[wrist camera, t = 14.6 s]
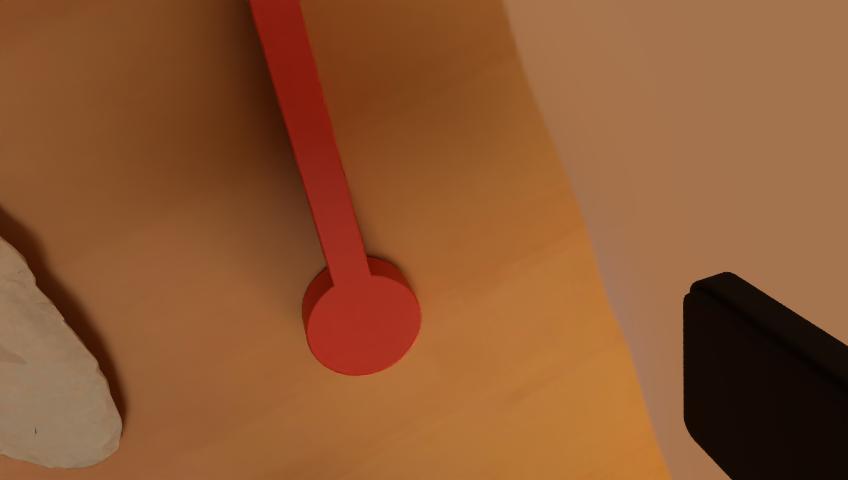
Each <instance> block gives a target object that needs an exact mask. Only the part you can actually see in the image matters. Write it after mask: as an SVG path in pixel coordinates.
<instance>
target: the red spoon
mask: <svg viewBox="0 0 848 480" xmlns="http://www.w3.org/2000/svg"><path fill="white" fill-rule="evenodd" d="M248 3H249V6H250V10H251V13H252V16H253V20H254V23H255V26H256V30H257V33H258V36H259V40H260V43H261V46H262V50H263V53H264V57H265V60H266V63H267V67H268V70H269V73H270V77H271V80H272V83H273V87H274V90H275V93H276V97H277V100H278V103H279V107H280V110H281V113H282V117H283V120H284V123H285V127H286V130H287V134H288V137H289V140H290V144H291V147H292V150H293V154H294V157H295V160H296V164H297V167H298V170H299V174H300V177H301V180H302V184H303V187H304V190H305V194H306V197H307V200H308V204H309V207H310V211H311V214H312V217H313V221H314V224H315V227H316V231H317V234H318V237H319V241H320V244H321V247H322V251H323V254H324V257H325V261H326V264H327V267H328V268H327V269H325V270H324V271H323V272H321V273H320V274H319V275H318V276H317V277H316V278H315V279H314V280H313V282H312V283H311V285H310V286H309V288H308V290H307V292H306V294H305V297H304V300H303V304H302V319H303V324H304V328H305V333H306V338H307V342H308V345H309V348H310V350H311V352H312V353H313V355H314V356H315V358H316V359H317V360H318V361H319V362H320V363H321V364H323V365H324V366H325V367H327V368H329V369H330V370H333V371H335V372H337V373H341V374H345V375H353V376H360V375H368V374H373V373H377V372H380V371H382V370H385V369H387V368H389V367H391V366H392V365H394V364H395V363H397V362H398V361H399V360H401V359H402V358H403V357H404V356H405V355H406V354H407V353H408V352H409V350H410V349H411V348H412V346H413V345H414V343H415V341H416V339H417V337H418V335H419V331H420V328H421V308H420V305H419V302H418V300H417V298H416V296H415V294H414V292H413V291H412V289H411V287H410V285H409V283H408V282H407V280H406V278H405V277H404V275H403V274H402V273H401V272H400V271H399V270H398V269H397V268H396V267H394V266H393V265H391V264H389V263H388V262H385V261H383V260H380V259H376V258H370V257H366V254H365V250H364V247H363V243H362V239H361V235H360V231H359V228H358V224H357V220H356V216H355V213H354V209H353V205H352V201H351V197H350V194H349V190H348V186H347V182H346V178H345V175H344V171H343V167H342V163H341V159H340V156H339V152H338V148H337V144H336V141H335V137H334V133H333V129H332V125H331V122H330V118H329V114H328V110H327V106H326V103H325V99H324V95H323V91H322V87H321V84H320V80H319V76H318V72H317V69H316V65H315V61H314V57H313V53H312V50H311V46H310V42H309V38H308V34H307V31H306V27H305V23H304V19H303V15H302V12H301V8H300V4H299V0H248Z"/></svg>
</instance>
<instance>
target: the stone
mask: <svg viewBox="0 0 848 480" xmlns="http://www.w3.org/2000/svg"><path fill="white" fill-rule="evenodd" d="M121 431H122V420H121V418H120V415H119V413H118V411H117V408H116V406H115V404H114V402H113V399H112V397H111V395H110V388H109V384H108V380H107V378H106V377H105V376H104V374H103V373H102V372H101V370H100V369H99V364H98V361H97V360H96V359H95V357H94V356H93V355H92V353H91V352H90V351H89V350H88V349H87V348H86V346H85V345H84V343H83V342H82V340H81V339H80V338H79V337H78V335H77V334H76V333H75V332H74V330H73V329H72V328H71V327H70V326H69V325H68V323H67V322H66V321H65V319H64V318H63V317H62V315H61V314H60V313H59V311H58V310H57V309H56V307H55V306H54V304H53V302H52V301H51V300H50V299H49V298H48V297H47V296H46V295H45V294H44V293H43V292H41V290H40V289H39V288H38V287H37V286H36V278H35V277H34V275H33V273H32V272H31V270H30V268H29V267H28V265H27V262H26V260H25V257H24V256H23V255H22V254H21V253H20V252H18V251H17V250H16V249H15V248H14V247H13V246H12V245H11V244H9V243H8V242H7V241H6V240H4V239H3V238H2V237H1V236H0V455H6V456H8V457H9V458H11V459H17V460H22V461H28V462H31V463H33V464H35V465H42V466H44V467H47V468H49V469H50V468H55V467H62V468H66V469H72V468H88V467H90V466H92V465H95V464H97V463H100V462H102V461H103V460H104V459H106V458H107V457H108V456H110V455H111V454H112V453H114V452H115V451H116V450H118V448H119V441H120V436H121Z"/></svg>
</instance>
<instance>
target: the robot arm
mask: <svg viewBox="0 0 848 480" xmlns="http://www.w3.org/2000/svg"><path fill="white" fill-rule="evenodd" d="M683 353H684V354H683V359H684V360H683V361H684V362H683V365H684V366H683V368H684V369H683V371H684V372H683V376H684V421H685V425H686V427H687V430H688V432H689V433H690V435H691V437H692V438H693V439H694V440H695V442H696V443H697V444H698V445H699V446H700V447H701V448H702V449H703V450H704V451H705V452H706V453H707V454H708V455H709V456H710V457H711V458H712V459H713V460H714V461H715V463H716V464H717V465H718V466H719V467H720V468H721V469H722V470H723V471H724V472H725V473H726V474H727V475H728V476H729V477H730V478H731V479H732V480H848V346H847V345H845V344H844V343H842V342H840V341H839V340H837V339H836V338H834V337H833V336H831V335H830V334H828V333H826V332H825V331H823V330H822V329H820V328H819V327H817V326H815V325H814V324H812V323H811V322H809V321H808V320H806V319H804V318H803V317H801V316H800V315H798V314H797V313H795V312H793V311H792V310H790V309H789V308H787V307H786V306H784V305H782V304H781V303H779V302H778V301H776V300H775V299H773V298H771V297H770V296H768V295H767V294H765V293H764V292H762V291H760V290H759V289H757V288H756V287H754V286H753V285H751V284H749V283H748V282H746V281H745V280H743V279H742V278H740V277H738V276H737V275H735V274H733V273H731V272H723V273H720V274H717V275H714V276H711V277H708V278H705V279H702V280H699V281H696V282H694V283H693V284H692V286H691V288H690V293H688V294H687V295H685V297H684V301H683Z"/></svg>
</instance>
